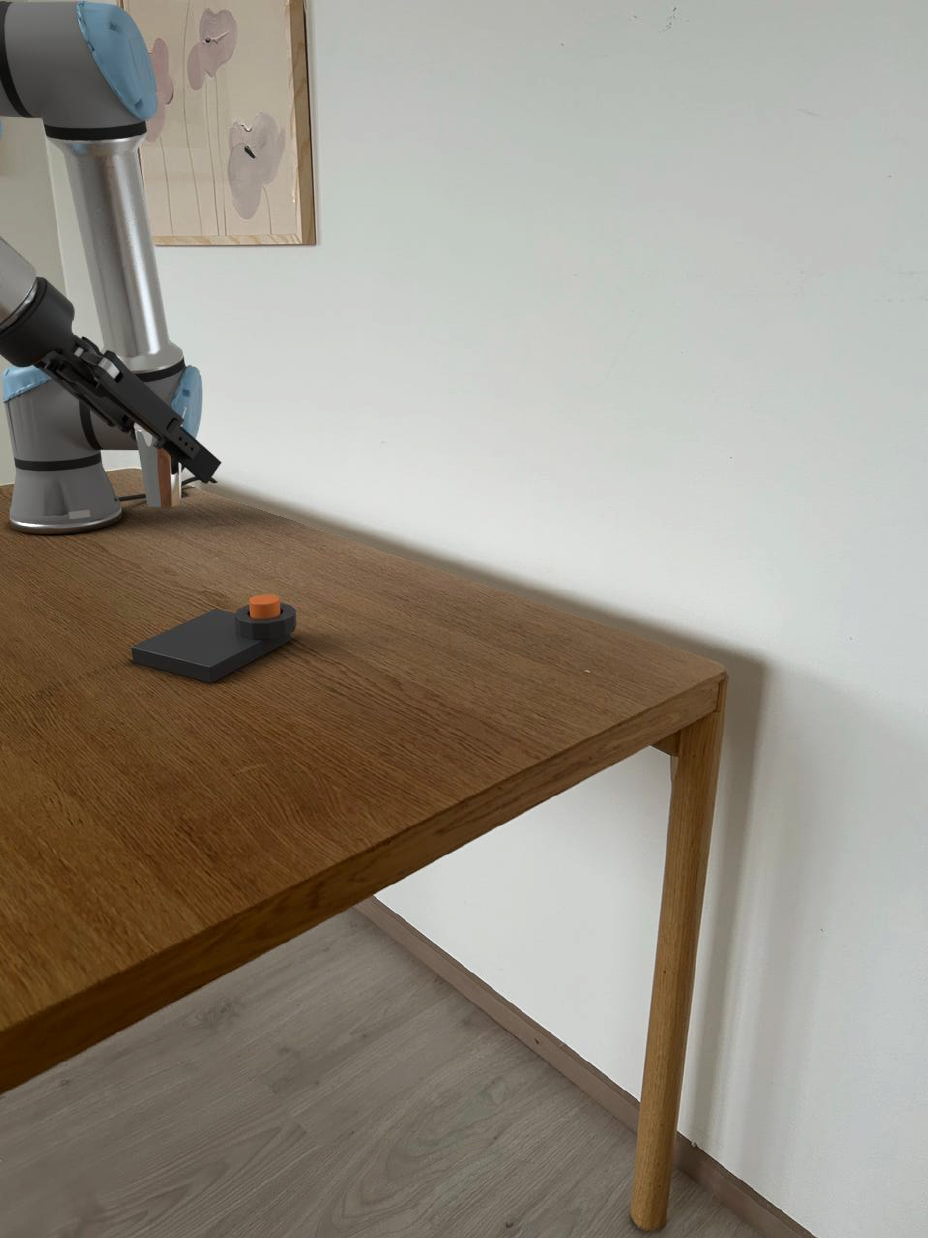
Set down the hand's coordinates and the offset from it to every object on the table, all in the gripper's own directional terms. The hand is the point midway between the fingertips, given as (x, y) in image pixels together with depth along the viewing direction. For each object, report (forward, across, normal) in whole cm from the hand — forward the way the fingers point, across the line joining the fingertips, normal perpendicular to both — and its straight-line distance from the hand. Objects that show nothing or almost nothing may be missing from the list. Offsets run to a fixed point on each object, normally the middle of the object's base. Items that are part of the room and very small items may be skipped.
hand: (197, 468), depth 98 cm
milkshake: (0, 0, -5) cm, 5 cm away
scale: (+8, +8, -15) cm, 19 cm away
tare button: (+9, +10, -9) cm, 17 cm away
